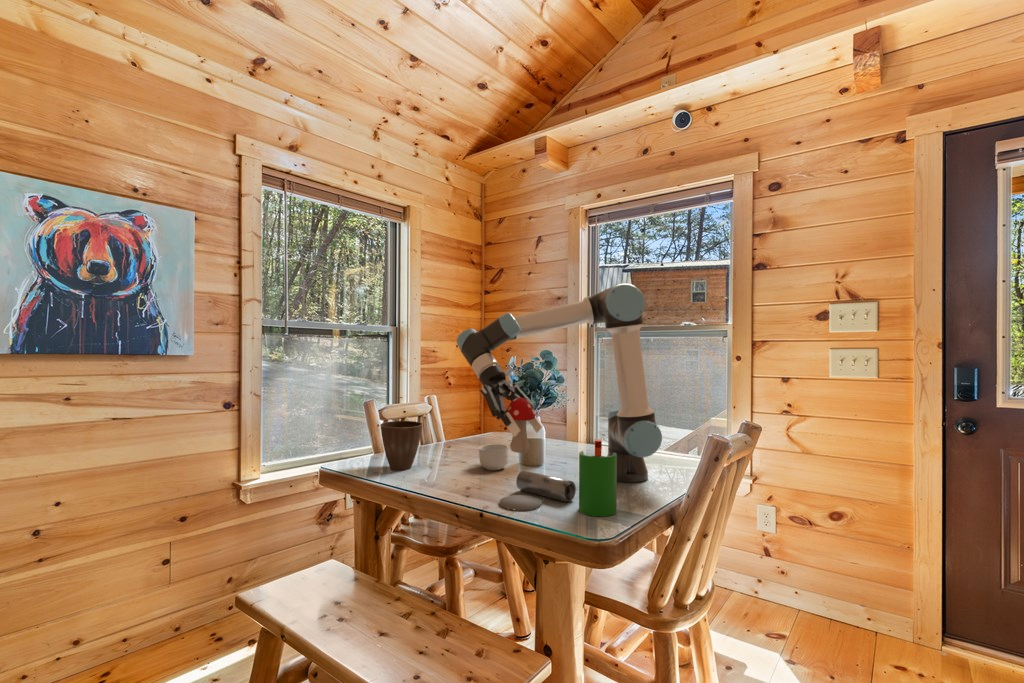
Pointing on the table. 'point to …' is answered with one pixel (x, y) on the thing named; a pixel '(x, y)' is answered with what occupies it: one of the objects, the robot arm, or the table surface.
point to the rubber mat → (521, 502)
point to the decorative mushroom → (520, 423)
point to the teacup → (493, 456)
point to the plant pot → (401, 442)
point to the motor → (597, 483)
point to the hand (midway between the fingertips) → (528, 431)
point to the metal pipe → (546, 486)
